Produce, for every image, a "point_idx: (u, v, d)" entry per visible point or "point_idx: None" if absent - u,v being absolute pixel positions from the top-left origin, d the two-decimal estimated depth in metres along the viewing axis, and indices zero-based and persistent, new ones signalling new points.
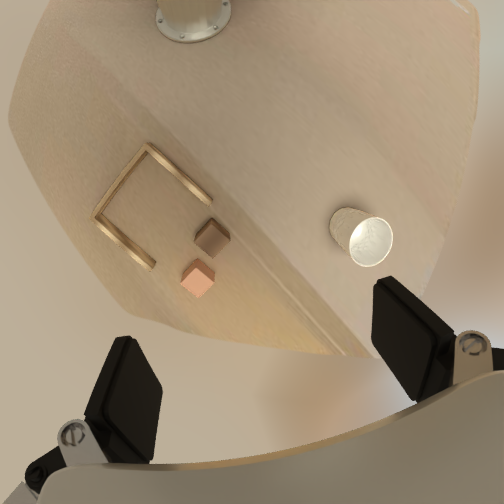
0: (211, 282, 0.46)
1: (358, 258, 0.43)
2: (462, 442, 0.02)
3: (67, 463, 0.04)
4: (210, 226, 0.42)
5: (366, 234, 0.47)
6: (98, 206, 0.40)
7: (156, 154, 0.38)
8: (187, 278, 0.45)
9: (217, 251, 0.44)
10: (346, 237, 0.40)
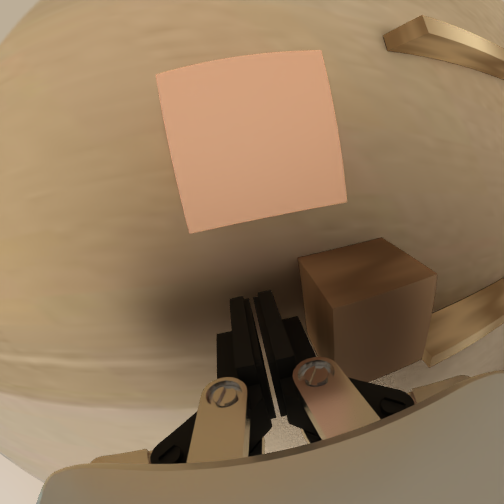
0: (201, 219, 0.07)
1: None
2: (462, 442, 0.02)
3: (197, 421, 0.06)
4: (419, 354, 0.09)
5: None
6: None
7: None
8: (324, 108, 0.06)
9: (342, 338, 0.08)
10: None
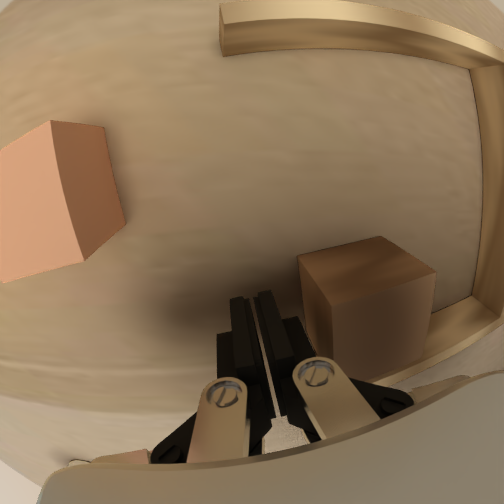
0: (4, 274, 0.06)
1: None
2: (462, 442, 0.02)
3: (197, 421, 0.06)
4: (419, 352, 0.09)
5: None
6: None
7: (481, 335, 0.11)
8: (52, 178, 0.06)
9: (341, 336, 0.08)
10: None
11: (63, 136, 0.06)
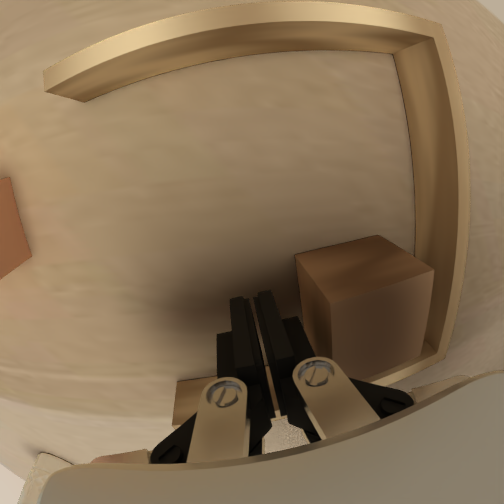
0: None
1: (21, 502, 0.09)
2: (462, 442, 0.02)
3: (197, 421, 0.06)
4: (417, 350, 0.09)
5: None
6: (455, 87, 0.07)
7: (407, 374, 0.11)
8: None
9: (340, 334, 0.08)
10: None
11: None
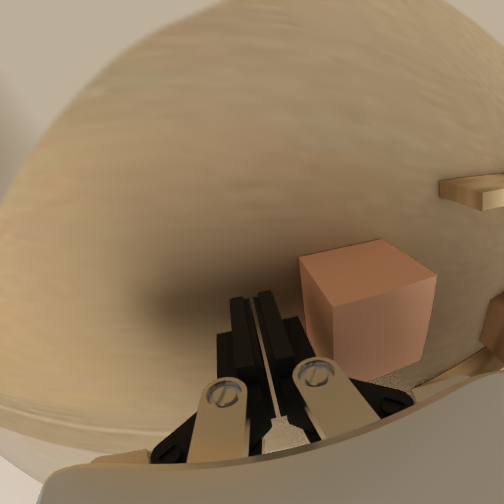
0: None
1: None
2: (462, 442, 0.02)
3: (197, 421, 0.06)
4: None
5: None
6: None
7: None
8: (425, 315, 0.08)
9: None
10: None
11: None
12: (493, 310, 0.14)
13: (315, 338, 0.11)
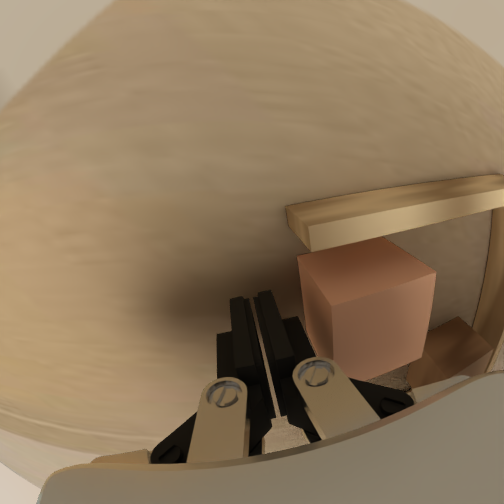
0: None
1: None
2: (462, 442, 0.02)
3: (197, 421, 0.06)
4: None
5: None
6: None
7: None
8: (425, 312, 0.08)
9: None
10: None
11: None
12: None
13: (315, 337, 0.11)
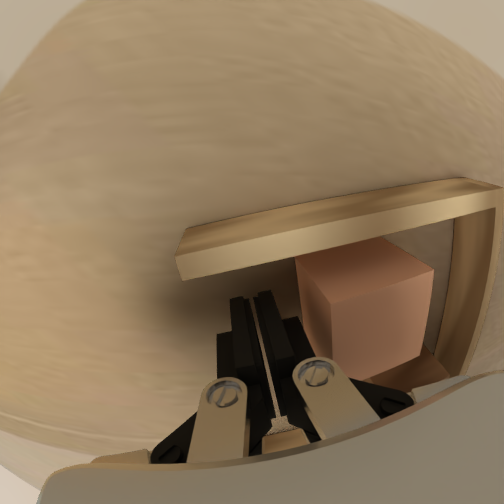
0: None
1: None
2: (462, 442, 0.02)
3: (197, 421, 0.06)
4: None
5: None
6: (497, 246, 0.09)
7: None
8: (423, 310, 0.09)
9: None
10: None
11: None
12: None
13: (313, 336, 0.11)
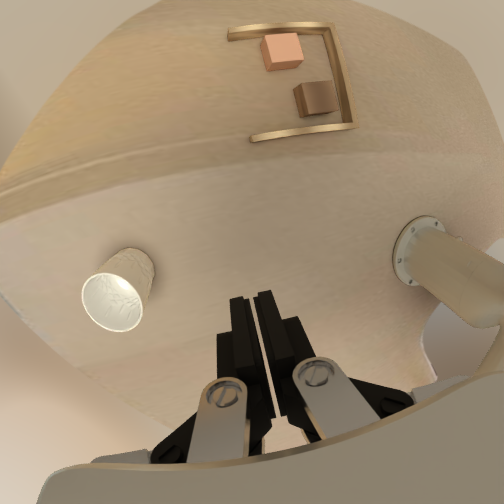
0: (274, 60, 0.27)
1: None
2: (462, 442, 0.02)
3: (197, 421, 0.06)
4: (336, 107, 0.30)
5: (114, 290, 0.36)
6: (337, 39, 0.27)
7: (341, 127, 0.31)
8: (297, 43, 0.26)
9: (306, 92, 0.29)
10: (129, 276, 0.29)
11: None
12: (295, 93, 0.32)
13: (267, 61, 0.29)
